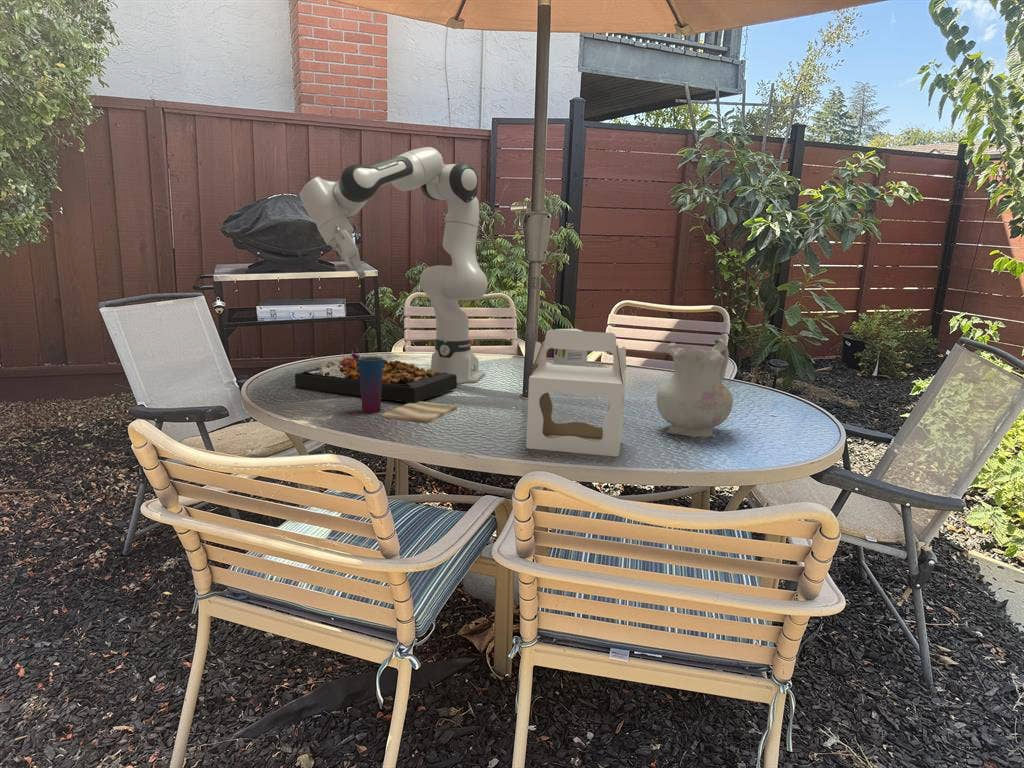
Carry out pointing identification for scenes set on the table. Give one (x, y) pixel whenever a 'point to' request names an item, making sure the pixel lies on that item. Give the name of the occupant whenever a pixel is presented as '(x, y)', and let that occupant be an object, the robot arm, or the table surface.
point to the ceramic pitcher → (696, 391)
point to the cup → (371, 383)
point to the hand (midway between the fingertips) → (363, 274)
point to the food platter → (396, 380)
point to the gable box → (577, 384)
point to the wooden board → (420, 411)
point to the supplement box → (570, 355)
